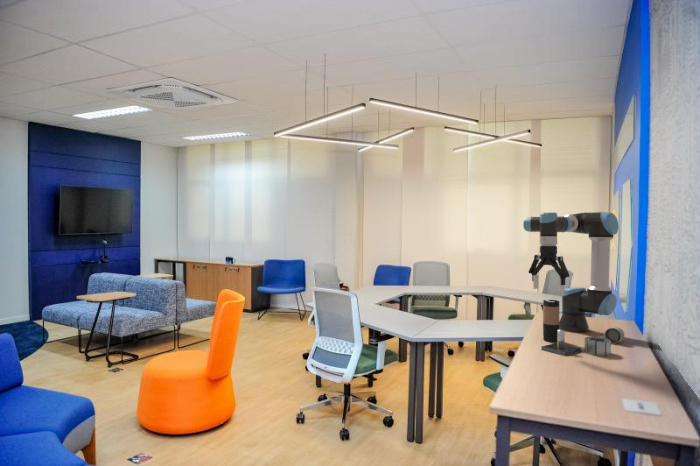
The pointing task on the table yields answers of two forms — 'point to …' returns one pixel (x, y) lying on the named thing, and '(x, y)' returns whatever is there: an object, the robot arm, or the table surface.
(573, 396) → the table surface
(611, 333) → the ceramic mug
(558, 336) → the shaft block
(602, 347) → the ring
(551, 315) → the travel mug
